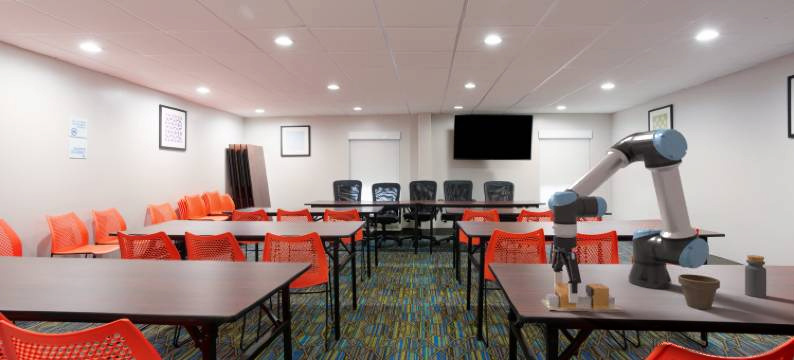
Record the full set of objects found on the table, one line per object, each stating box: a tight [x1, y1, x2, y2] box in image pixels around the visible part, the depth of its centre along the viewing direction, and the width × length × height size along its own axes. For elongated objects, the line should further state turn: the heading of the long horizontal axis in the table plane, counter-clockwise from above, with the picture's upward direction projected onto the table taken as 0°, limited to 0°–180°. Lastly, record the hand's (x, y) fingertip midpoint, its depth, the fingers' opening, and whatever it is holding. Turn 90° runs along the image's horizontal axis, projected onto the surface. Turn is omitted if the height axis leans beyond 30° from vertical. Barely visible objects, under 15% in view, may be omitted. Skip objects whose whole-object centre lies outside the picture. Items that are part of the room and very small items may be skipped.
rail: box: [540, 283, 623, 313], centre depth 130 cm, size 24×9×8 cm, turn 86°
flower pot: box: [677, 273, 721, 310], centre depth 130 cm, size 12×11×10 cm
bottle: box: [744, 254, 767, 299], centre depth 141 cm, size 6×6×15 cm
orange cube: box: [554, 282, 576, 307], centre depth 130 cm, size 6×6×6 cm
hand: (565, 295), depth 130 cm, fingers open, 13 cm apart
